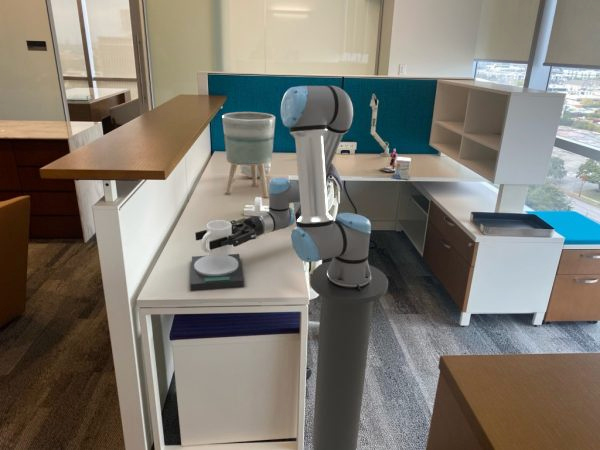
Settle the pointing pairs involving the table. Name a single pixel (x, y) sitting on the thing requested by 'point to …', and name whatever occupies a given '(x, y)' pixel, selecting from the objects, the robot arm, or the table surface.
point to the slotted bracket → (256, 208)
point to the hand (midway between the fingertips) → (202, 241)
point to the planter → (249, 143)
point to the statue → (392, 163)
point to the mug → (217, 237)
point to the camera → (247, 170)
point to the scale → (216, 272)
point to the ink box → (402, 167)
